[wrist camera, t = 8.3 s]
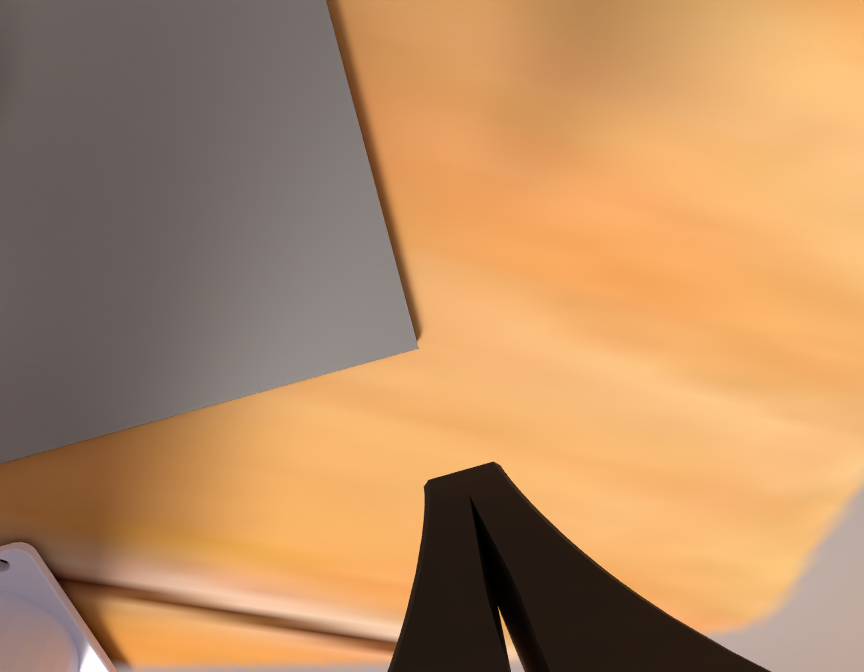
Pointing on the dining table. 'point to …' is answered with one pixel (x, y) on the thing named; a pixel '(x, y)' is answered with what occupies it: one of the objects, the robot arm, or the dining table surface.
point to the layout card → (179, 213)
